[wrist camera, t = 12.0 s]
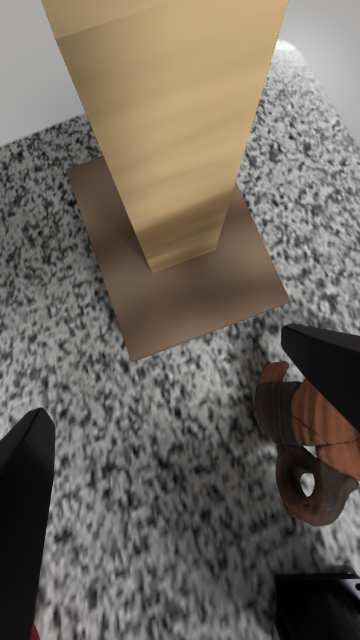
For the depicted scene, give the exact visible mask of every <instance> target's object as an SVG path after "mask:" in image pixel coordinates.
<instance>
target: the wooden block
mask: <svg viewBox="0 0 360 640" xmlns="http://www.w3.org/2000/svg"><path fill="white" fill-rule="evenodd" d="M41 1H42V4H43V7H44V9H45V12H46V15H47V18H48V21H49V23H50V26H51V29H52V32H53V34H54V37H55V40H56V42H57V45H58V47H59V49H60V52H61V54H62V56H63V59H64V62H65V64H66V66H67V69H68V71H69V74H70V76H71V78H72V81H73V83H74V86H75V88H76V91H77V93H78V95H79V98H80V100H81V103H82V105H83V107H84V110H85V112H86V115H87V117H88V120H89V122H90V124H91V127H92V129H93V132H94V134H95V137H96V139H97V141H98V144H99V146H100V149H101V151H102V153H103V156H104V158H105V161H106V163H107V166H108V168H109V170H110V173H111V175H112V178H113V180H114V182H115V185H116V187H117V190H118V192H119V195H120V197H121V199H122V202H123V204H124V207H125V209H126V212H127V214H128V216H129V219H130V221H131V224H132V226H133V228H134V231H135V233H136V236H137V238H138V241H139V243H140V245H141V248H142V250H143V253H144V255H145V257H146V260H147V262H148V265H149V267H150V270H151V272H152V273H154V272H157V271H159V270H162V269H165V268H167V267H170V266H173V265H176V264H178V263H181V262H184V261H187V260H189V259H192V258H195V257H197V256H200V255H203V254H206V253H208V252H211V251H214V250H216V247H217V243H218V240H219V236H220V233H221V230H222V226H223V223H224V219H225V216H226V212H227V209H228V206H229V202H230V199H231V195H232V192H233V189H234V185H235V182H236V178H237V175H238V172H239V168H240V165H241V161H242V158H243V155H244V151H245V148H246V144H247V141H248V137H249V134H250V131H251V127H252V124H253V120H254V117H255V114H256V110H257V107H258V103H259V100H260V97H261V93H262V90H263V86H264V83H265V80H266V76H267V73H268V69H269V66H270V62H271V59H272V56H273V52H274V49H275V45H276V42H277V39H278V35H279V32H280V28H281V25H282V21H283V18H284V15H285V11H286V7H287V4H288V1H289V0H41Z"/></svg>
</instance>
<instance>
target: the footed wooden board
mask: <svg viewBox="0 0 360 640" xmlns="http://www.w3.org/2000/svg"><path fill="white" fill-rule="evenodd" d="M66 172H67V174H68V177H69V180H70V183H71V186H72V189H73V192H74V195H75V198H76V201H77V204H78V207H79V210H80V212H81V215H82V218H83V221H84V224H85V227H86V230H87V233H88V236H89V239H90V242H91V245H92V248H93V250H94V253H95V256H96V259H97V262H98V265H99V268H100V271H101V274H102V277H103V280H104V283H105V286H106V288H107V291H108V294H109V297H110V300H111V303H112V306H113V309H114V312H115V315H116V318H117V321H118V324H119V326H120V329H121V332H122V335H123V338H124V341H125V344H126V347H127V350H128V353H129V356H130V359H131V362H132V361H137V360H140V359H142V358H145V357H148V356H150V355H153V354H155V353H158V352H161V351H163V350H166V349H169V348H171V347H174V346H176V345H179V344H182V343H184V342H187V341H190V340H192V339H195V338H197V337H200V336H203V335H205V334H208V333H211V332H213V331H216V330H218V329H221V328H224V327H226V326H229V325H232V324H234V323H237V322H240V321H242V320H245V319H247V318H250V317H253V316H255V315H258V314H261V313H263V312H266V311H268V310H271V309H274V308H276V307H279V306H282V305H284V304H286V303H288V302H290V299H289V297H288V295H287V293H286V291H285V289H284V286H283V284H282V282H281V280H280V278H279V275H278V273H277V271H276V269H275V267H274V264H273V262H272V260H271V258H270V256H269V254H268V251H267V249H266V247H265V245H264V243H263V240H262V238H261V236H260V234H259V232H258V230H257V227H256V225H255V223H254V221H253V219H252V216H251V214H250V212H249V210H248V208H247V206H246V203H245V201H244V199H243V197H242V195H241V192H240V190H239V188H238V186H237V184H236V182H235V185H234V189H233V192H232V195H231V199H230V202H229V206H228V209H227V212H226V216H225V219H224V223H223V226H222V230H221V233H220V236H219V240H218V243H217V247H216V250H214V251H211V252H208V253H206V254H203V255H200V256H197V257H195V258H192V259H189V260H187V261H184V262H181V263H178V264H176V265H173V266H170V267H167V268H165V269H162V270H159V271H157V272H154V273H152V272H151V270H150V267H149V265H148V262H147V260H146V257H145V255H144V253H143V250H142V248H141V245H140V243H139V241H138V238H137V236H136V233H135V231H134V228H133V226H132V224H131V221H130V219H129V216H128V214H127V212H126V209H125V207H124V204H123V202H122V199H121V197H120V195H119V192H118V190H117V187H116V185H115V182H114V180H113V178H112V175H111V173H110V170H109V168H108V166H107V163H106V161H105V158H104V156H102V157H100V158H97V159H94V160H91V161H88V162H85V163H83V164H80V165H77V166H74V167H71V168H68V169H66Z"/></svg>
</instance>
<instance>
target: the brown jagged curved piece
mask: <svg viewBox="0 0 360 640" xmlns="http://www.w3.org/2000/svg"><path fill="white" fill-rule="evenodd" d="M288 368H289V364H288V363H287V362H286V361H280V362H275V363H269V364H267V365H266V367H265V368H264V369H263V371H262V373H261V375H260V378H259V381H258V385H257V388H256V396H255V408H256V414H257V417H258V419H259V422H260V424H261V426H262V428H263V430H264V431H266V432H267V433H268V434H269V435H270V436H271V438H272V439H273V440H275V442H276V443H277V446H276V449H277V453H278V456H277V463H276V483H277V487H278V490H279V494H280V496H281V499H282V501H283V503H284V505H285V507H286V508H287V509H288V510H289V512H290V514H291V515H292V517H294V518H296V519H299V520H301V519H302V520H303V521H305V522H307V523H309V524H310V525H312V526H325V525H328V524H331V523H333V522H334V521H335V520H336V519H337V518H338V517H339V515H340V514H341V512H342V510H343V508H344V505H345V503H346V500H347V498H348V496H349V495H350V493H351V492H353V491H354V490H356V489H357V488H358V487H359V483H358V481H357V480H359V481H360V434H359V433H358V432H357V431H356V430H355V428H354V427H353V426H352V425H351V424H350V423H349V422H348V421H347V420H346V419H345V418H344V417H343V416H342V415H341V414H340V413H339V412H338V411H337V410H336V409H335V408H334V407H333V406H332V405H331V404H330V403H329V402H328V401H327V400H326V399H325V398H324V397H323V396H322V395H321V393H320V392H319V391H318V390H317V389H316V388H315V387H314V386H313V385H312V384H311V383H310V382H309V381H308V380H307V379H306V378H305V379H304V381H303V382H302V383H301V382H299V381H293V382H283V383H282V381H283V377H284V375H285V373H286V371H287V369H288ZM303 446H315V447H316V454H317V456H318V458H316V457H314V456H313V455H312V454H311V453H310V452H309V451H308V450H307V449H305V448H304V447H303ZM304 473H311V474H313V476H314V481H315V485H314V490H313V492H312V494H311V495H310V496H308V497H307V496H306V495H305V493H304V492H303V490H302V487H301V482H300V478H301V476H302V475H303V474H304Z"/></svg>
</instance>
